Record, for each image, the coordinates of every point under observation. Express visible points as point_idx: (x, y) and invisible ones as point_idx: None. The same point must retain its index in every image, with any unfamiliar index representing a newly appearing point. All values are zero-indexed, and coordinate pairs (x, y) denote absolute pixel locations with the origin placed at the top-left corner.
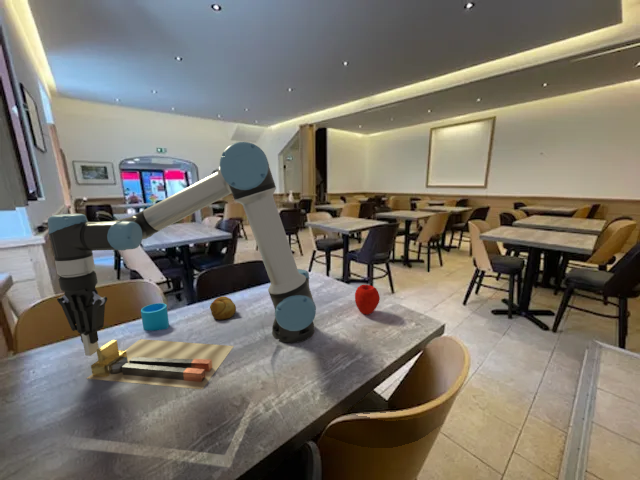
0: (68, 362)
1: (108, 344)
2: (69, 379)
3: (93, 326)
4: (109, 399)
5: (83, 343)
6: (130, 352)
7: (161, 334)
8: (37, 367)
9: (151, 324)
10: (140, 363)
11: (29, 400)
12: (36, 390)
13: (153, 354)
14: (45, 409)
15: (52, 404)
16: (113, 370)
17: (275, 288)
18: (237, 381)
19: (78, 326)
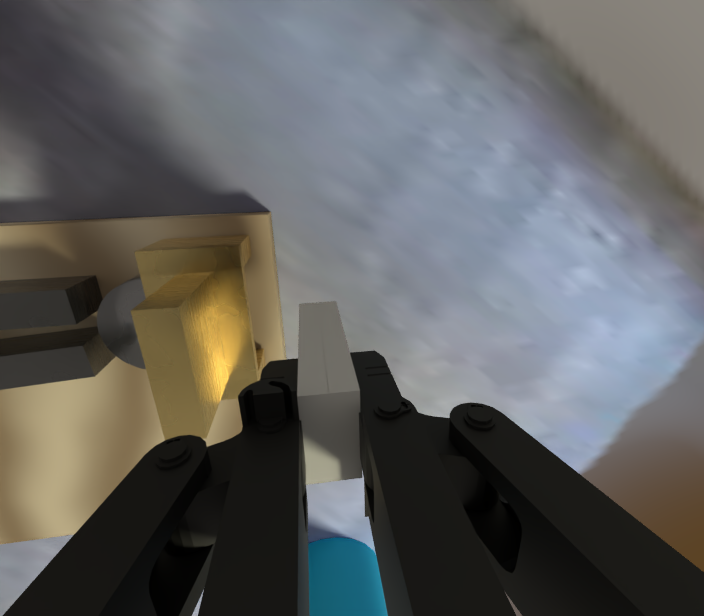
0: (504, 316)
1: (169, 388)
2: (388, 220)
3: (141, 508)
4: (18, 123)
5: (344, 340)
6: None
7: None
8: (609, 263)
9: (310, 594)
10: (18, 348)
11: (436, 56)
12: (471, 126)
13: (106, 434)
14: (288, 3)
15: (290, 44)
16: (139, 275)
17: None
18: None
19: (411, 459)
